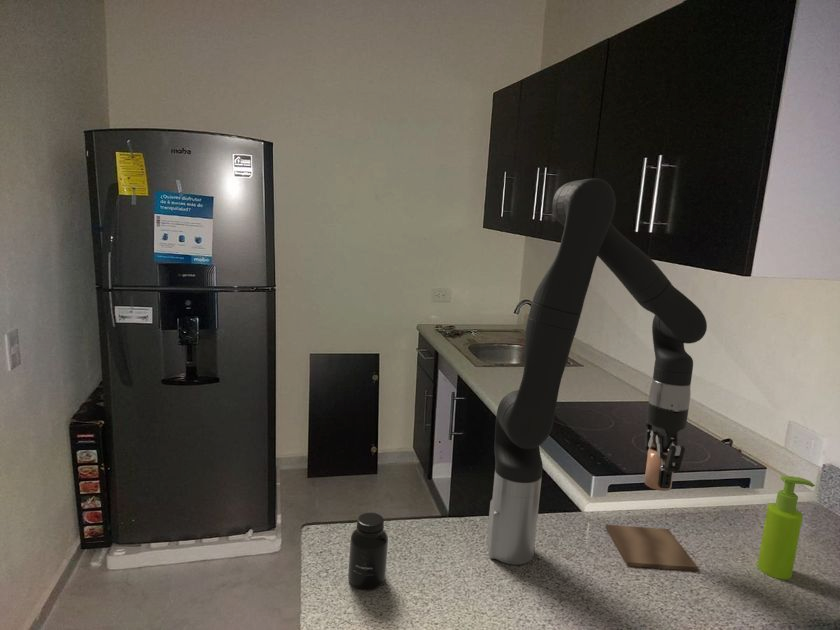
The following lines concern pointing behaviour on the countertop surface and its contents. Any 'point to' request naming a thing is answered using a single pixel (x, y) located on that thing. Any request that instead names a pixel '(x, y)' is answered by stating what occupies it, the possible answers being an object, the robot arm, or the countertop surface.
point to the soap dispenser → (781, 531)
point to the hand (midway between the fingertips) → (658, 480)
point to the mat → (650, 548)
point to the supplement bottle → (368, 552)
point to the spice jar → (654, 471)
